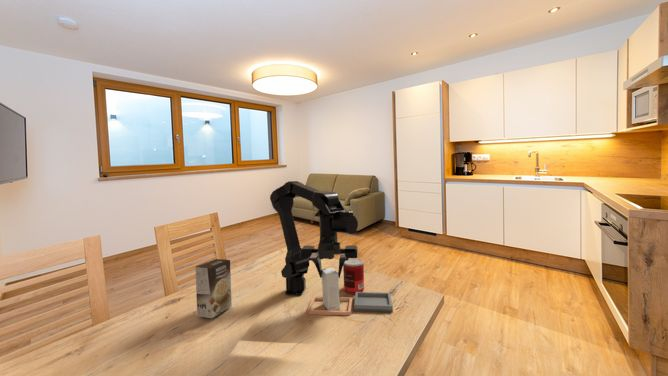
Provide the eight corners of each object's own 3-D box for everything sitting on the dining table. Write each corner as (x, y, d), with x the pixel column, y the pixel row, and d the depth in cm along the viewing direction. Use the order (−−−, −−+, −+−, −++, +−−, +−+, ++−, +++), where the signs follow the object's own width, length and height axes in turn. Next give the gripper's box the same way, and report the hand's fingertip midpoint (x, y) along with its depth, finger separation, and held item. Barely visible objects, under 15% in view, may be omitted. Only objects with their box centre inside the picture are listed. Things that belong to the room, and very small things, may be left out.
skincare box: (340, 309, 89) (339, 272, 88) (327, 312, 87) (326, 274, 87) (334, 301, 94) (333, 267, 94) (321, 303, 93) (321, 268, 93)
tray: (354, 311, 87) (354, 304, 87) (355, 297, 97) (355, 291, 97) (392, 312, 86) (392, 305, 86) (390, 298, 96) (389, 292, 96)
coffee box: (212, 319, 85) (210, 268, 84) (196, 316, 87) (194, 266, 87) (232, 305, 94) (230, 259, 93) (217, 303, 96) (215, 258, 95)
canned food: (364, 285, 107) (363, 258, 107) (364, 294, 99) (363, 264, 99) (344, 285, 108) (343, 258, 108) (343, 294, 100) (342, 264, 100)
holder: (306, 314, 86) (306, 310, 86) (313, 299, 97) (313, 296, 97) (350, 315, 85) (350, 312, 85) (352, 300, 95) (352, 297, 95)
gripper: (294, 235, 83) (296, 286, 83) (355, 235, 81) (357, 287, 81) (302, 229, 94) (304, 273, 94) (357, 228, 92) (358, 274, 92)
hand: (330, 277), depth 90 cm, fingers open, 6 cm apart
